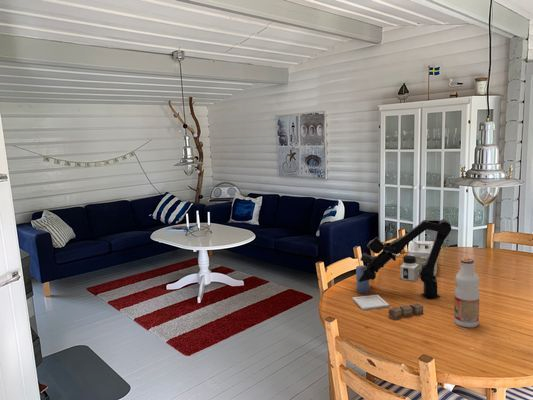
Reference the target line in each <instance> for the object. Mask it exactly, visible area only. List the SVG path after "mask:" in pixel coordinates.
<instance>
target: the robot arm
mask: <svg viewBox="0 0 533 400" xmlns="http://www.w3.org/2000/svg"><path fill="white" fill-rule="evenodd" d="M426 230H427V231H428V230H429V231H432V232H433V231H434V232H435V238H434V241H433V242H434V243H433V246H432V249H431V251H430V254H429V257H428V260H427V262H426V263H425V265H424V264H422V265H421V269H420V270H419V279H420V280H421V282H422V283H423V293H421V294H420V295H421V296H423V297H424V298H426V299H429V300H433V299H437V298H441V296H440V295H439V294H438V279H437V277H436V276H434V275H433V274H434V266H435V263H436V260H437V261H438V258H439V255H440V253H441V250H442V247H443V244H444V241H445V240H446V238H447V237H448V236H449V234H450V233H451V231H452V225H451V223H450V221H449V220H448V219H440V220H438V219H437V220H436V219H435V220H428V219H423V220H422V221H421V222H420V223H419V224H417V225H415V227H414V228H412V229H410V230H409V231H408V232H407V233H405V234H404V235H403V236H401V237H398V238H395V239H394V240H392V241H389V242H384V243H383V241H381V240H380V239H379V237H377V236H376V237H375V238H374V239H372V240H371V239H370V241H369V242H368V243H367V245H366V247H367V248H368V249H369V250H370V251H372V253H374V254H377V255H374V256H372V255H371V254H369V253H366V252H363V253H362V255H361V257H360V261H361V262H364V263H366V264H365V266H368V267H366V268H365V269H364V274H363V275H362V277H361V278H360V279H359V282H363V281H366V280H369V281H370V280H371V281H374V280H375V279H376V277H377V273H378V272H379V270H380V269H381V268H384V266H385V265H386V264H388V262H390V261H391V260H393V261H394V262H396V261H397V260H396V259H397V258H396V257H397V255H398V254H400V253H401V252H402V251H403V250H404V248H405V247H407V245H409V242H410V241H414V239H415V238H417V237H419V236H420V235H421V234H423V233H424V232H426Z"/></svg>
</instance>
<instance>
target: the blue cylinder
mask: <svg viewBox="0 0 533 400" xmlns="http://www.w3.org/2000/svg"><path fill="white" fill-rule="evenodd" d="M366 267H368V266H366V265H357V266H355V274H356V276H355V278H356V292H357V293H358V294H361V295H362V294H369V293H370V280H366V281H363V282H359V279H360V278H361V277H362V275H363V274H364V269H365V268H366Z"/></svg>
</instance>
